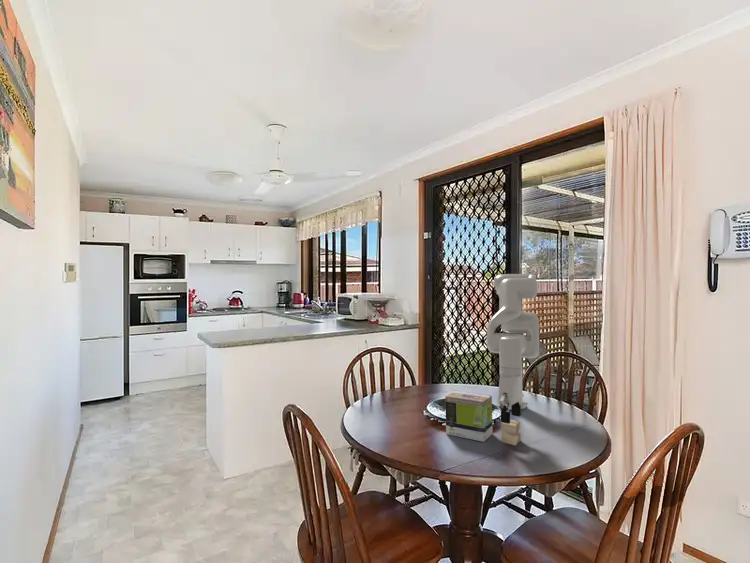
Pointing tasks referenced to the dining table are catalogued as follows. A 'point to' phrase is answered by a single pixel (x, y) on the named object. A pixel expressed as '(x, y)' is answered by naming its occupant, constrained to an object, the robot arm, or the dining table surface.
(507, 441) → the maple block
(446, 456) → the dining table surface
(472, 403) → the tea box
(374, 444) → the dining table surface
